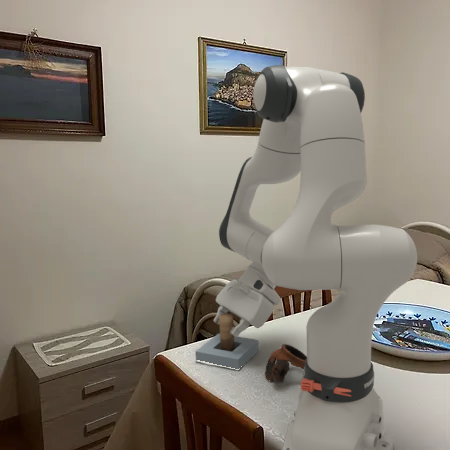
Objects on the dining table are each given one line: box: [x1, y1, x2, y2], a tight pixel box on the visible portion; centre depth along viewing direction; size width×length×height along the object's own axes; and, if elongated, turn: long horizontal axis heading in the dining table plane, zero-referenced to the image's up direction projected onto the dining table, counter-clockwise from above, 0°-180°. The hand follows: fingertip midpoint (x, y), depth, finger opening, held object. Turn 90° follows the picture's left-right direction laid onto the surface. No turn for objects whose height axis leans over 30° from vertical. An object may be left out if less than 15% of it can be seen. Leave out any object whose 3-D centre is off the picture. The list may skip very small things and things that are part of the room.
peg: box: [218, 313, 235, 352], centre depth 117 cm, size 4×4×11 cm
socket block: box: [195, 333, 260, 369], centre depth 117 cm, size 12×12×3 cm
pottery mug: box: [264, 343, 307, 383], centre depth 104 cm, size 12×10×8 cm
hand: (224, 329), depth 116 cm, fingers open, 8 cm apart
